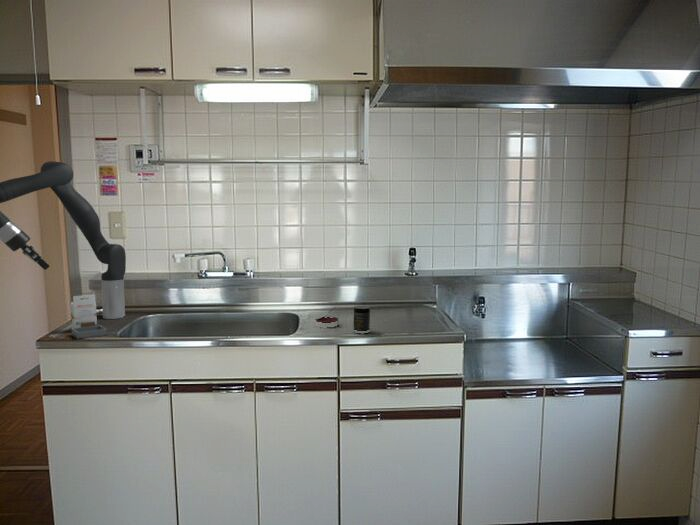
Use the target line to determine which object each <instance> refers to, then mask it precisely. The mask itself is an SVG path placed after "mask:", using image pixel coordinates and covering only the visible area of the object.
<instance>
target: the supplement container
mask: <svg viewBox="0 0 700 525" xmlns="http://www.w3.org/2000/svg"><path fill="white" fill-rule="evenodd" d="M354 330H357V331H367V330H370V331H371V307H370V306H368V305H355V306H353V331H354Z"/></svg>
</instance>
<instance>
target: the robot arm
mask: <svg viewBox="0 0 700 525" xmlns="http://www.w3.org/2000/svg"><path fill="white" fill-rule="evenodd" d="M73 178H74V170H73V168H72V167H71V166H70V165H69V164H67V163H66V162H61V161H54V160H53V161H46V162H44V163H43V164H42V165H41V167H40V172H37V173H35V174H29V175H25V176H19V177H14V178H11V179H7V180H3V181H1V182H0V204H2V203H3V204H4V203H7V202H8V201H10V200H11V201H12V200H14V199H17V198H19V197H22V196H25V195H27V194H31V193H34V192H37V191H41V190H45V189H49V188H50V189H51V190H52V191H53V193H54V194H55V195H56V197H57V198H58V199H59V200H60V202H61V204H62V206H63V207H64V208H65V210H66V212H68V214H69V216H70V218H71V219H72V221H73V222H74V223H75V225H76V226H77V227H78V228H79V230H80V231H81V233H82V235H83V236H84V238H85V239H86V240H87V242H88V244H89V246H90V248H91V249H92V251H93V253H94V255H95V257H96V259H97V260H98V261H99V262H100V263H101V264H104V265H107V269H106V271H104V272H103V273H101V276H100V278H101V301H102V319H105V320H114V319H122V318H125V317H126V308H125V307H126V305H125V303H126V300H125V279H124V278H125V277H124V276H125V274H126V268H127V267H126V266H127V265H126V263H127V255H126V250H125V248H124V246H122V245H121V244H117V243H109V242H108V241H107V239H105V237H104V236H103V234H102V231H101V221H100V218H99V215H98V213H97V212H96V210H95V209H94V207H93V206H92V204H90V202H88V200H87V199H86V198H85V197H84V196H82V195H81V194H80V193H79V192H78V190H76V189H75V188H74V187H73V186H72V184H71V182H72V180H73ZM0 241H1V242H2V243H3V244H5V245H6V246H7V247H8V248H9V249H10V250H11V251H12V252H16V251H18V250H19V249H21V251H22V252H21V253H22V254H23V255H25V257H28V259H30V260H31V261H34V263H36V264H38V265H39V267H41V268H42V269H43V270H45V271H46V270H47V269H48V268H50V265H49V264H48V263H47V262H46V261H45V260H44V259H43V258H42V256H41V255H40V253H39V252H38V251H37V250H36V249H35V248H34V246H32V245H28V244H27V243H28V242H29V241H31V237H30V236H29V235H28V234H27V233H26V232H25V231H23V229H21V228H20V226H18V225H17V224H16V223H15V222H13V221H12V220H11V219H10V218H8V216H6V215H5V214H4V213H3V212H2V211H1V210H0ZM124 316H125V317H124Z"/></svg>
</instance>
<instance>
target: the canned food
mask: <svg viewBox="0 0 700 525" xmlns="http://www.w3.org/2000/svg"><path fill="white" fill-rule="evenodd" d="M336 308H337V307H336V306H335V307H333V308H332V309H330V310H329V311H328V312H326V313H324V314H321V315H320V316H318V317H316V318H315V319H314V320H316V321H317V322H322V323H331V322H336V321H338V322H339V318H338V317H336V316H335V317H334V316H332V317H333V318H330V317H331V316H327V315H328V314H329V313H330V312H332V311H333V310H335V309H336ZM325 317H327V318H325Z"/></svg>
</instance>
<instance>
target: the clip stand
mask: <svg viewBox="0 0 700 525" xmlns="http://www.w3.org/2000/svg"><path fill="white" fill-rule="evenodd" d="M90 326H95V322H94V321H93V322H85V323H81V328H82V327H90Z"/></svg>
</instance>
